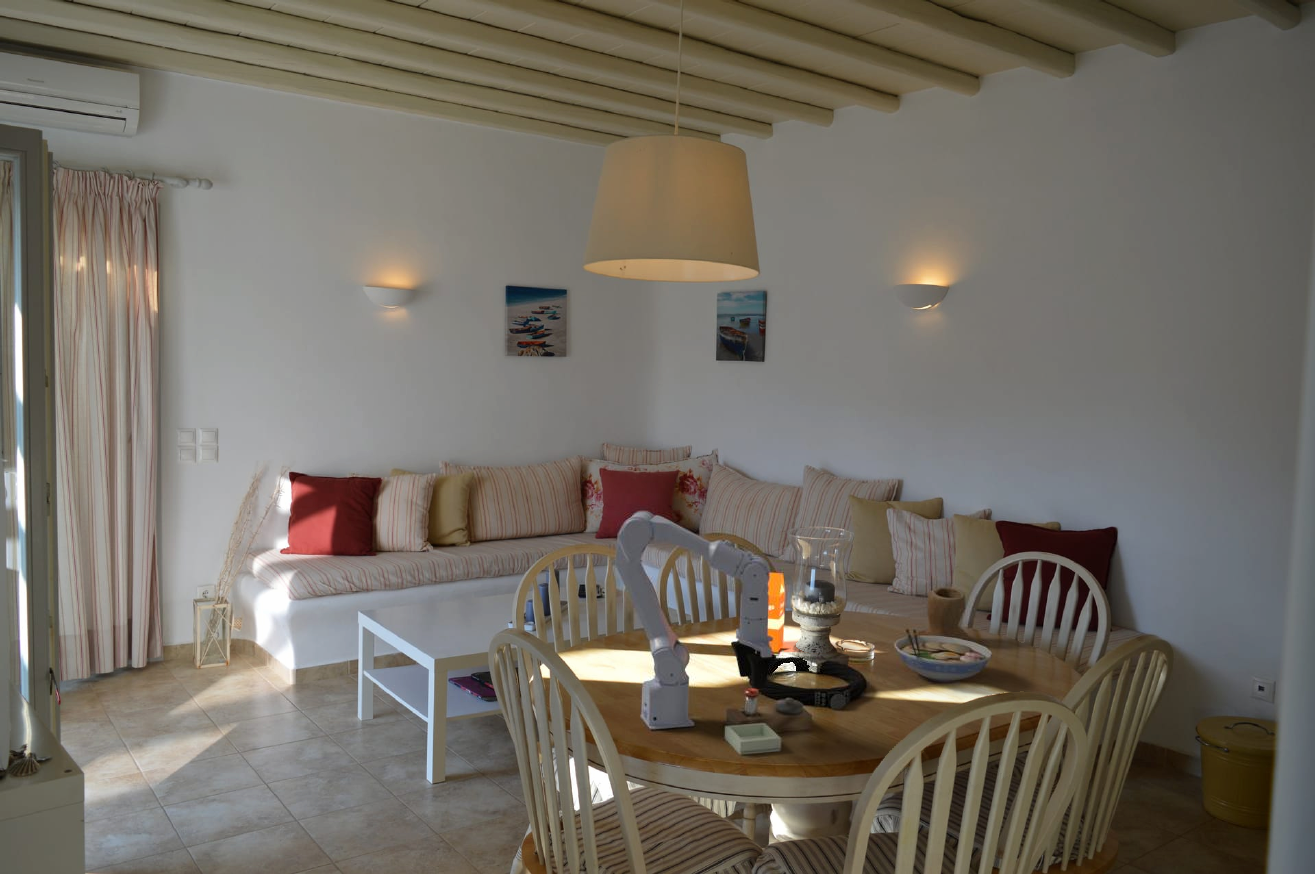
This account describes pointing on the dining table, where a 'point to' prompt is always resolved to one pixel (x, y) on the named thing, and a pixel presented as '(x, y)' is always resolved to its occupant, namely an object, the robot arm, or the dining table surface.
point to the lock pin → (751, 702)
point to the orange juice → (776, 610)
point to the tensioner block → (774, 716)
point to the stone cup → (945, 613)
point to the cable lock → (815, 696)
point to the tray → (752, 738)
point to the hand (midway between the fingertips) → (752, 682)
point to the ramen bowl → (942, 656)
